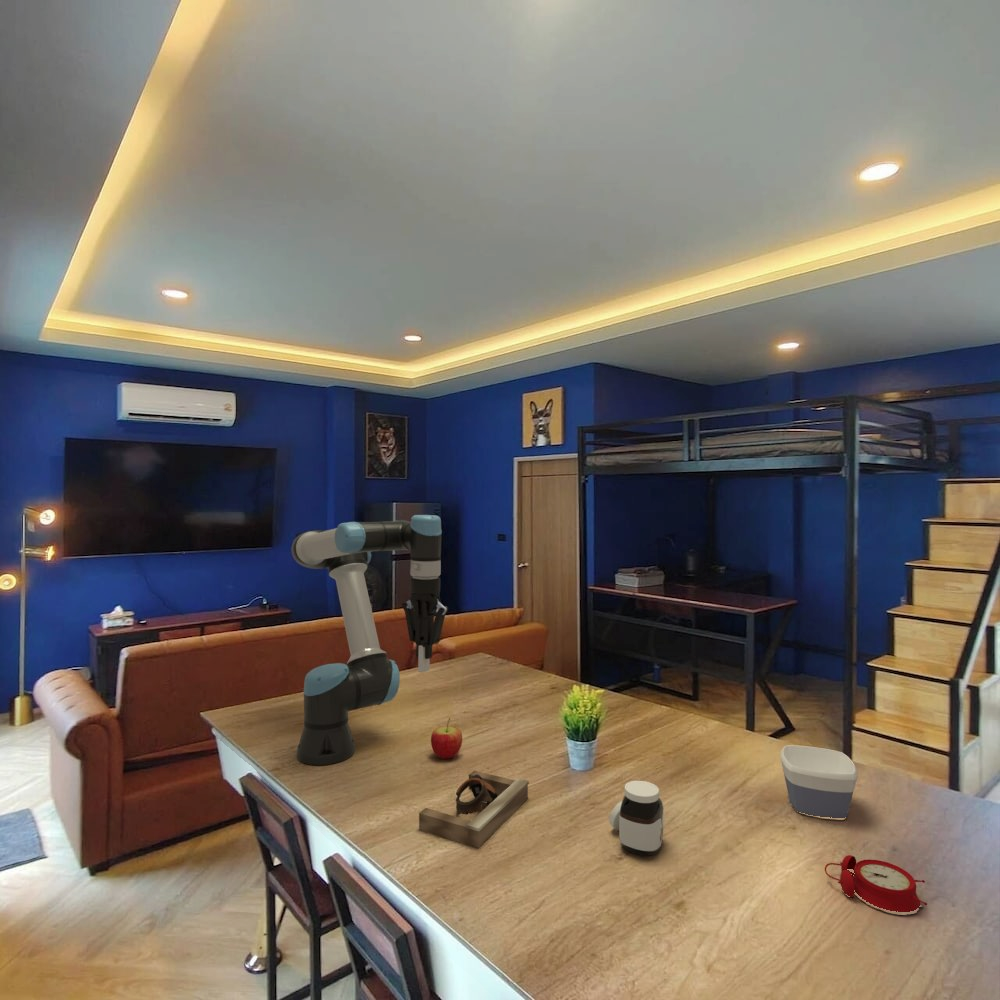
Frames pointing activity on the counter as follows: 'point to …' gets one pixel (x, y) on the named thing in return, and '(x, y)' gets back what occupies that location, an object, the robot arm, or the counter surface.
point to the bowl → (818, 780)
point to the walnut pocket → (485, 821)
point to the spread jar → (639, 818)
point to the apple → (446, 741)
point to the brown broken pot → (475, 795)
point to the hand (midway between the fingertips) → (423, 670)
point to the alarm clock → (879, 884)
